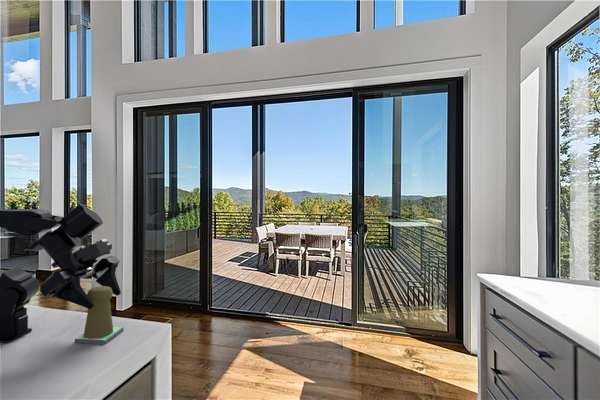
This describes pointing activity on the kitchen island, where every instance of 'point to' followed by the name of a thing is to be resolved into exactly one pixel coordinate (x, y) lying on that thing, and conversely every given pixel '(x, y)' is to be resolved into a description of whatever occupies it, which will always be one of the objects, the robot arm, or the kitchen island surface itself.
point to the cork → (99, 313)
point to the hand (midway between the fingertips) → (106, 300)
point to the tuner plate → (99, 340)
